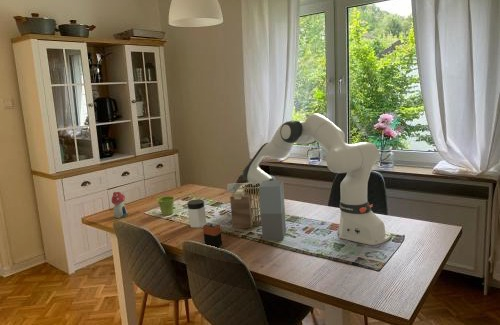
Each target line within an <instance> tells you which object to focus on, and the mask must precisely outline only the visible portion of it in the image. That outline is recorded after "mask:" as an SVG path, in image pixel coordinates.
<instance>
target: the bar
mask: <svg viewBox="0 0 500 325" xmlns="http://www.w3.org/2000/svg"><path fill="white" fill-rule="evenodd" d="M248 184H249V183H247V182H243V184H242V185H241V186H240V187H239V189H238V190H237V191H236V192H235V193H234V199H241V198H242V197H243V195H244V194H245V188H242V186H244V185H248Z"/></svg>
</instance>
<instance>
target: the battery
mask: <svg viewBox="0 0 500 325" xmlns="http://www.w3.org/2000/svg"><path fill="white" fill-rule="evenodd" d="M206 223H207V224H206V225H204V226H202V231H203V240H204V245H205V244H207V245H211V246H215V247H217V248H219V247H221V246H222V245H223V239H222V238H223V236H222V228H221V225H220V224H217V222H215V223H214V222H213V223H211V222H206Z"/></svg>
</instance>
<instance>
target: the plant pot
mask: <svg viewBox="0 0 500 325" xmlns="http://www.w3.org/2000/svg"><path fill="white" fill-rule="evenodd" d="M175 199H176V198H175V196H171V195H168V196H162V197H161V196H160V197H159V198H157V200H156V202H158V205H159V208H160V211H161V215H162V216H170V215H173V214H174V202H175Z"/></svg>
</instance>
